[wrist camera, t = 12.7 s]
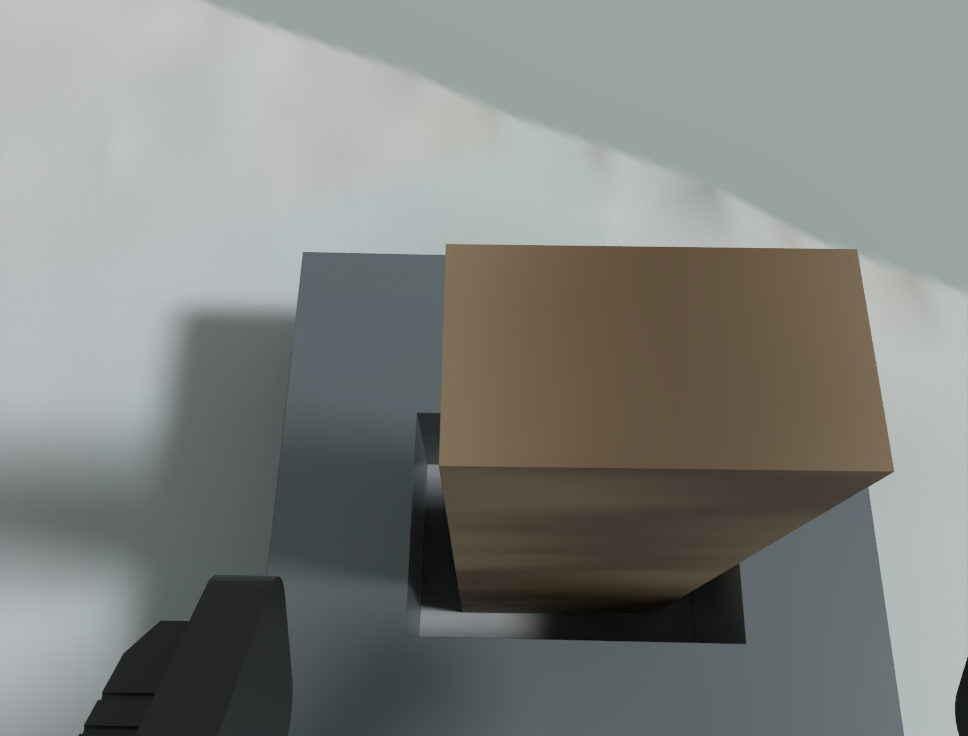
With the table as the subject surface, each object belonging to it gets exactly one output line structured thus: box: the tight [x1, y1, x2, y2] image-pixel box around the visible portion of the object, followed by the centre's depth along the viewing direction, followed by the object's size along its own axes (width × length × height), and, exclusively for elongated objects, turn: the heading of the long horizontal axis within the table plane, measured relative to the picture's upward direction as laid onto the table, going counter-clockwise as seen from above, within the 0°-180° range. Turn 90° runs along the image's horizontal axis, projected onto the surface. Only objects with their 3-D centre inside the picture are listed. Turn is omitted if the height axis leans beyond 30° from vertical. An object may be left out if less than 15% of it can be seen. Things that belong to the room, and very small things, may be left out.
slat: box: [439, 244, 894, 615], centre depth 15 cm, size 4×2×13 cm, turn 89°
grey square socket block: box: [267, 252, 904, 736], centre depth 19 cm, size 12×12×4 cm
